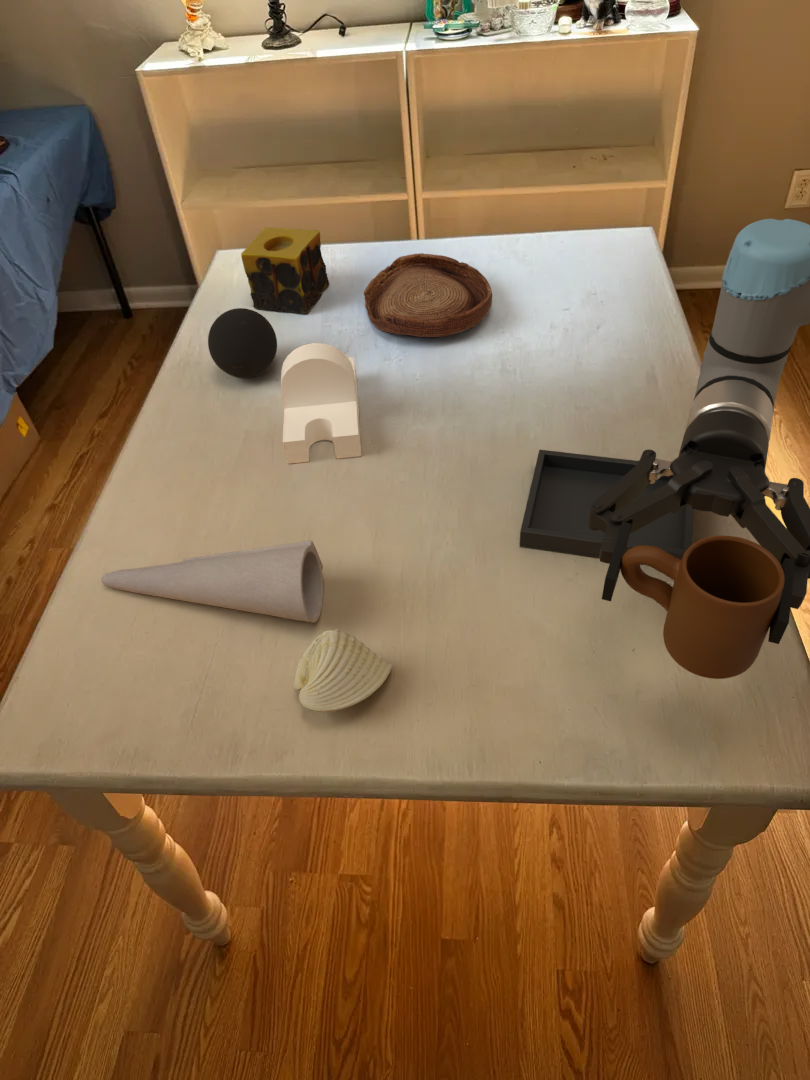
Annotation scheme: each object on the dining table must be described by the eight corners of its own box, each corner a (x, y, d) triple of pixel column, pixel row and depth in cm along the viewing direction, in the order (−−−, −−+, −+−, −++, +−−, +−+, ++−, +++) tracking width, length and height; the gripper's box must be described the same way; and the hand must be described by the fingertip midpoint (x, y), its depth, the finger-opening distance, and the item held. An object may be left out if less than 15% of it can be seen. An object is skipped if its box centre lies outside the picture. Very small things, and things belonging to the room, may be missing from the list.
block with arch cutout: (361, 456, 104) (351, 387, 96) (287, 464, 104) (271, 395, 96) (357, 378, 116) (347, 311, 108) (291, 384, 116) (277, 318, 108)
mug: (598, 647, 66) (610, 572, 60) (623, 585, 71) (636, 509, 64) (748, 695, 62) (779, 620, 55) (763, 626, 66) (794, 548, 60)
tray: (687, 571, 86) (691, 555, 85) (519, 546, 91) (520, 531, 89) (690, 483, 96) (694, 467, 94) (538, 464, 100) (539, 449, 98)
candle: (330, 285, 136) (321, 229, 129) (308, 316, 129) (298, 258, 122) (277, 280, 138) (265, 225, 131) (252, 310, 132) (239, 253, 125)
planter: (62, 612, 83) (296, 592, 78) (88, 551, 89) (308, 529, 84) (97, 653, 88) (317, 637, 84) (120, 593, 94) (327, 575, 90)
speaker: (204, 374, 120) (186, 315, 112) (257, 346, 124) (243, 288, 117) (242, 399, 114) (226, 340, 107) (295, 369, 119) (283, 310, 112)
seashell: (272, 661, 79) (325, 604, 79) (332, 702, 83) (383, 648, 83) (286, 705, 72) (344, 642, 72) (350, 747, 76) (406, 688, 76)
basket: (347, 295, 133) (343, 268, 129) (454, 266, 137) (453, 238, 134) (397, 362, 118) (395, 333, 115) (515, 326, 123) (516, 298, 119)
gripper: (853, 496, 73) (845, 682, 60) (593, 445, 80) (535, 600, 67) (883, 432, 67) (882, 622, 54) (601, 384, 75) (540, 540, 62)
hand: (690, 610), depth 61 cm, fingers closed on mug, 12 cm apart
